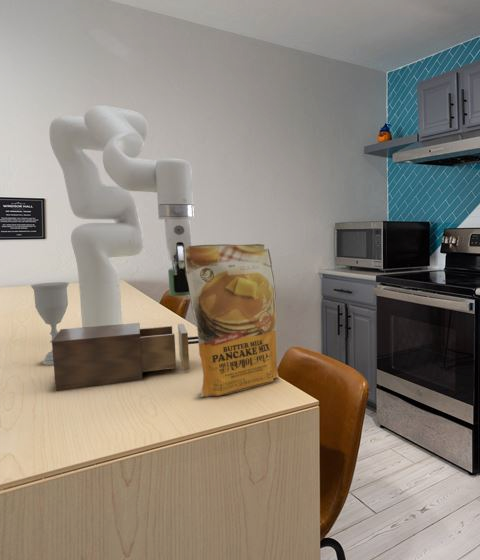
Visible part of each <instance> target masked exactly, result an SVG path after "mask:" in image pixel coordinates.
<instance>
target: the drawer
mask: <svg viewBox="0 0 480 560" xmlns="http://www.w3.org/2000/svg"><path fill="white" fill-rule="evenodd" d="M188 333H189V332H188V331H187V328H186V326H185V324H184V323H177V334H178V352H179V360H180V363H181V367H182V369H183V370H188V369H190V354H189V353H190V352H189V345H194V344H195V345H196V344H199V342H198V335H195V336H194V335H193V336H189V335H188ZM140 347H141V363H142V373H146V372H154V371H162V370H170V369H171V370H172V369H176V368H177V356H176V337H175V333H173V326H172V325H165V326H153V327H144V328H143V327H142V328H140Z"/></svg>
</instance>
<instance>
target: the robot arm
mask: <svg viewBox="0 0 480 560" xmlns="http://www.w3.org/2000/svg"><path fill="white" fill-rule="evenodd" d="M49 125H50V126H49V134H48V135H49V143H50V147H51V149H52V152H53V154H54V156H55V158H56V160H57V162H58V164H59V166H60V168H61V171H62V174H63V179H64V183H65V187H66V192H67V196H68V201H69V206H70V209H71V212H72V213H73V215H74V216H75V217H76V218H79V219H83V220H98V221H100V220H101V221H102V220H105V221H106V220H107V221H108V220H110V221H111V220H113V221H114V222H87V223H82V224H80V225H77V226H76V227H75V228H73V230H72V232H71V235H70V243H71V247H72V250H73V253H74V255H75V256H74V257H75V262H76V269H77V278H78V286H79V287H78V289H79V301H80V313H81V315H80V317H81V326H82V327H94V326H106V325H119V324H123V316H122V315H123V312H122V296H121V283H120V274H119V273H120V272H119V270H118V269H117V267H116V266H115V265H114V264H113V262H112V261H111V260H110V258H121V257H123V258H124V257H134V256H137V255H139V254H140V253H141V252H142V251H143V249H144V247H145V237H144V232H143V228H142V222H141V219H140V214H139V209H138V205H137V201H136V198H135V196H134V194H133V193H132V192H146V193H156V198H157V209H158V210H157V212H158V220H164V231H165V232H164V233H165V245H166V252H167V257H168V260H169V262H171V268H174V274H175V275H173V279H174V292H176V293H179V292H189V285H188V281H187V278H186V273H185V265H184V255H183V250H184V249H186V248H187V247H189V246H193V236H192V233H193V232H192V225H191V220H195V207H194V187H193V186H194V185H193V169H192V163H191V162H190V161H189V160H187V159H185V158H177V157H176V158H175V157H165V158H164V157H163V158H159V159H157V160H155V159H149V158H140V157H139V156H140V155H141V154H142V152H143V150H144V146H145V141H146V140H147V138H148V136H149V132H150V127H149V123H148V121H147V119H146V118H145V116H144V115H143V114H141V113H140V112H139V111H136V110H132V109H127V108H121V107H116V106H112V105H111V106H110V105H104V104H103V105H102V104H100V105H99V104H98V105H93V106H91V107H89V108H88V109H87V110H86V112H85V113H84V116H80V115H60V116H57V117H54V119H52V121H51V122H50V124H49ZM84 150H86V151H93V152H94V151H96V152H102V164H103V168H104V171H105V173H106V174H107V175H108V176H109V178H110V179H111V181H113V183H115V184H116V185H106V184H104V183H103V179H102V176H101V170H100V168H99V167H98V165H97V164H96V162H95V161H94V160H93V158H92V157H90V156H89V155H88V154H86V152H84ZM138 157H139V158H138ZM82 327H81V328H82Z"/></svg>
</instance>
